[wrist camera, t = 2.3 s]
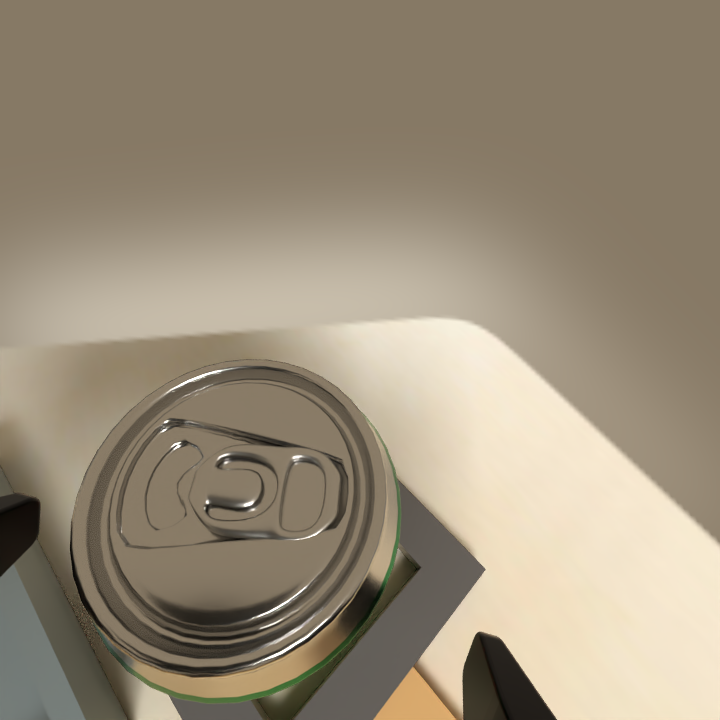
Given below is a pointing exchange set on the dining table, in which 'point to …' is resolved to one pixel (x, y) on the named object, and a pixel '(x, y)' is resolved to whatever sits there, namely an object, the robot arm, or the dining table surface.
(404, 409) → the dining table surface
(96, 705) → the parts tray
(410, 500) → the grey rectangular frame
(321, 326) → the dining table surface
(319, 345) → the dining table surface
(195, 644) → the soda can
